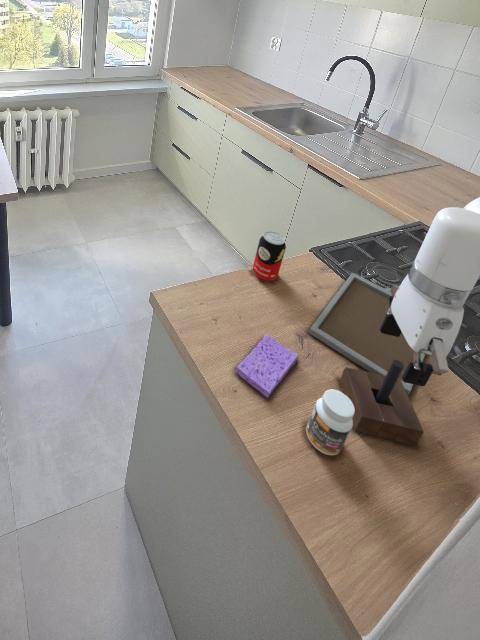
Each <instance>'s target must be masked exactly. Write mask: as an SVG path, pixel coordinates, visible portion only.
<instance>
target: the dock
mask: <svg viewBox="0 0 480 640" xmlns="http://www.w3.org/2000/svg"><path fill="white" fill-rule="evenodd" d="M385 377H386V376H383V375H378V374H374V373H370V372H369V371H366V370H360V369H356V368H351V367H347V366H345V367H344V369H343V371H342V374H341V376H340V379H339V383H340V386H341V389H342V393H343V394H345V395H346V396H347V397H348V398H349V399H350V400H351V401H352V403H353V405H354V408H355V413H354V415H353V418H352V419H353V427H354V431H357V432H361V433H364V434H368V435H372V436H377V437H379V438H384V439H388V440H392V441H396V442H399V443H404V444H407V445H410V446H417V445H418V443H419V441H420V440H421V438H422V436H423V435H424V433H425V431H424V429H423V426H422V424H421V421H420V419H419V418H418V415H417V413H416V411H415V409H414V406H413V404H412V402H411V399H410V398H409V395H407V393H406V391H405V389H404V386H403V384H402V382H401V380H400V379H398V380H397V382H396V384H395V386H394V388H393V390H392V391H391V393H390V395H389V397H388V399H387V401H386V403H385V405H384V404H380V403H376V400H375V397H376V395H377V393H378V391H379V389H380V387H381V385H382V383H383V381H384V379H385Z"/></svg>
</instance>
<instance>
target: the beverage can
mask: <svg viewBox="0 0 480 640" xmlns="http://www.w3.org/2000/svg"><path fill="white" fill-rule="evenodd" d="M285 241H286V239H285V237H284V236H283V235H282V234H280V233H278V232H277V231H265V232H264V233H263V235H262V236H260V238H259V241H258V245H257V248H256V253H255V256H254V260H253V264H252V271H253V273H254V274H255V275H256V276H257V277H258V278H259V279H261V280H263V281H274V280H276V279H277V278H278V277H279V273H280V270H281V266H282V263H283V260H284V256H285V252H286V249H287V246H286V242H285ZM254 267H255V268H254Z"/></svg>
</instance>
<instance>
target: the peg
mask: <svg viewBox="0 0 480 640" xmlns="http://www.w3.org/2000/svg"><path fill="white" fill-rule="evenodd" d="M403 368H404V365H403V363H402V362H400V361H398V360H393V362H392V364H391V367H390V369H389V371H388V373H387V375H386V377H385V379H384V381H383V383H382V385H381V387H380V389H379V391H378V393H377V395H376V397H375V400H376V403H380V404H384V405H385V403H386V401H387V399H388V397H389V395H390V393H391V391H392V390H393V388H394V386H395V384H396V382H397V380H398V378H399V376H400V374H401V372H402V370H403Z"/></svg>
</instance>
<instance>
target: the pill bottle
mask: <svg viewBox="0 0 480 640" xmlns="http://www.w3.org/2000/svg"><path fill="white" fill-rule="evenodd" d="M354 413H355V408H354V405H353V403H352V401H351V400H350V399H349V398H348V397H347V396H346V395H345V394H344V392H343V391H340V390H337V389H326V391H324V392H323V394H322V396H321V397H319V398H318V399H317V400H316V402H315V405H314V407H313V410H312V412H311V415H310V417H309V419H308V422H307V424H306V428H305V431H306V436H307V438H308V441H309V442H310V443H311V445H312V446H313V447H314V448H315V449H316V450H318V451H319V452H320V453H322V454H324V455H327V456H336V455H338V454H339V453H340V452H341V451H342V449H343V447H344V445H345V443H346V441H347V439H348V437H349V435H350V433H351V431H352V430H353V427H354V425H353V419H352V418H353V415H354Z"/></svg>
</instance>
